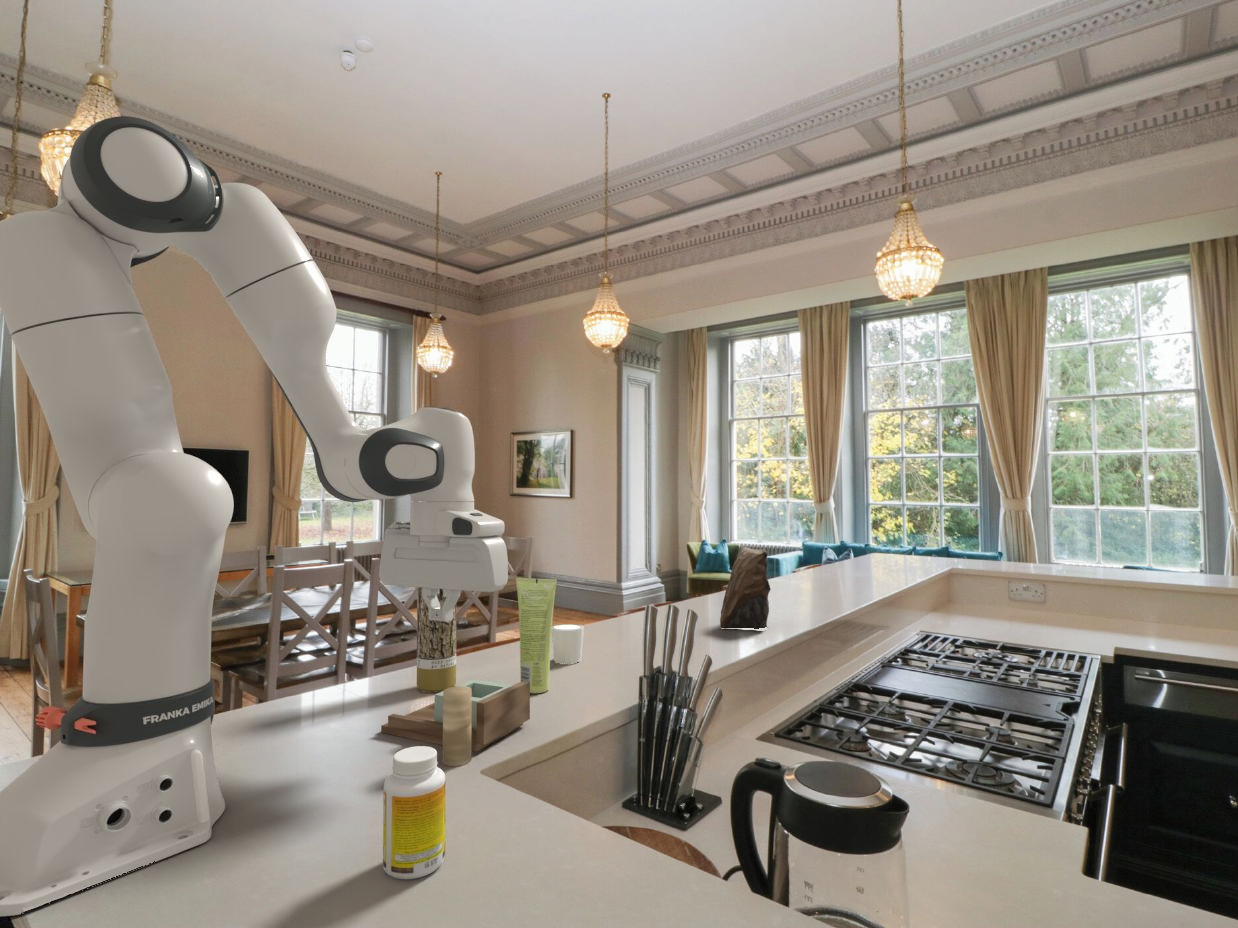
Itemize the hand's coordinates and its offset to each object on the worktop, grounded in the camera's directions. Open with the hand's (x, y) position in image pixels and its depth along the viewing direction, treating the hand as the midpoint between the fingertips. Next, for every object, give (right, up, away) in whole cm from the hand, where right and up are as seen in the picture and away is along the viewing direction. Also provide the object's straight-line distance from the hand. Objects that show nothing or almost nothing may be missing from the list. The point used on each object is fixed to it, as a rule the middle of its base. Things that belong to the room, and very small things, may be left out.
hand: (440, 620), depth 94 cm
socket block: (+5, -16, +2) cm, 16 cm away
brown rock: (+57, -20, +76) cm, 97 cm away
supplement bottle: (+6, -16, -32) cm, 36 cm away
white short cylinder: (+15, -19, +43) cm, 49 cm away
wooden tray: (+1, -17, +4) cm, 17 cm away
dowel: (+4, -16, -8) cm, 19 cm away
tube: (+11, -18, +22) cm, 31 cm away
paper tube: (-7, -18, +24) cm, 31 cm away
